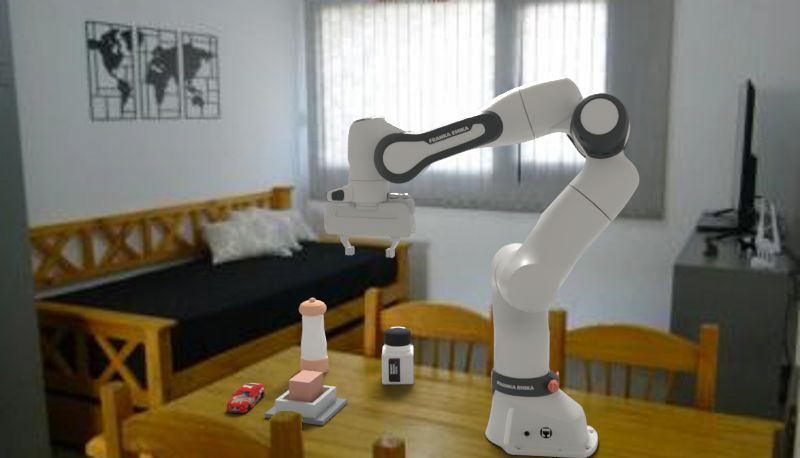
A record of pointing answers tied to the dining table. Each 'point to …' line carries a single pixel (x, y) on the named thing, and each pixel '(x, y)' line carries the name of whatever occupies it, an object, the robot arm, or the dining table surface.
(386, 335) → the container
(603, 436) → the dining table surface
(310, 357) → the salt shaker
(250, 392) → the race car
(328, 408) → the square socket base
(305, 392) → the pink upright box
